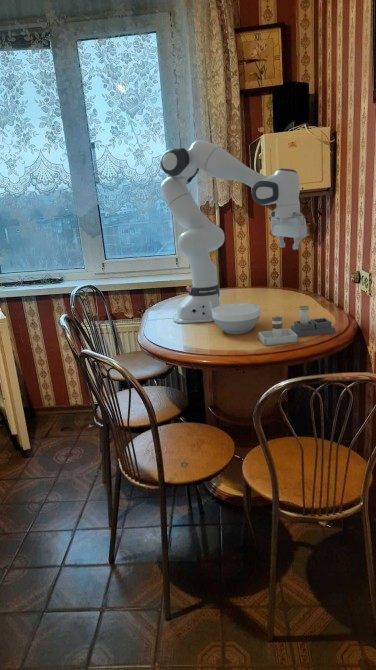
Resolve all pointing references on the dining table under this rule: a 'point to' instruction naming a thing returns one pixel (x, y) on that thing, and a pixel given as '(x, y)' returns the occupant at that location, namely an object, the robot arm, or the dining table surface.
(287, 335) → the parts tray
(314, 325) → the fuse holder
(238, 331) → the bowl
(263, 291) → the dining table surface
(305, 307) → the fuse
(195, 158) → the robot arm
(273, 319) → the fuse
